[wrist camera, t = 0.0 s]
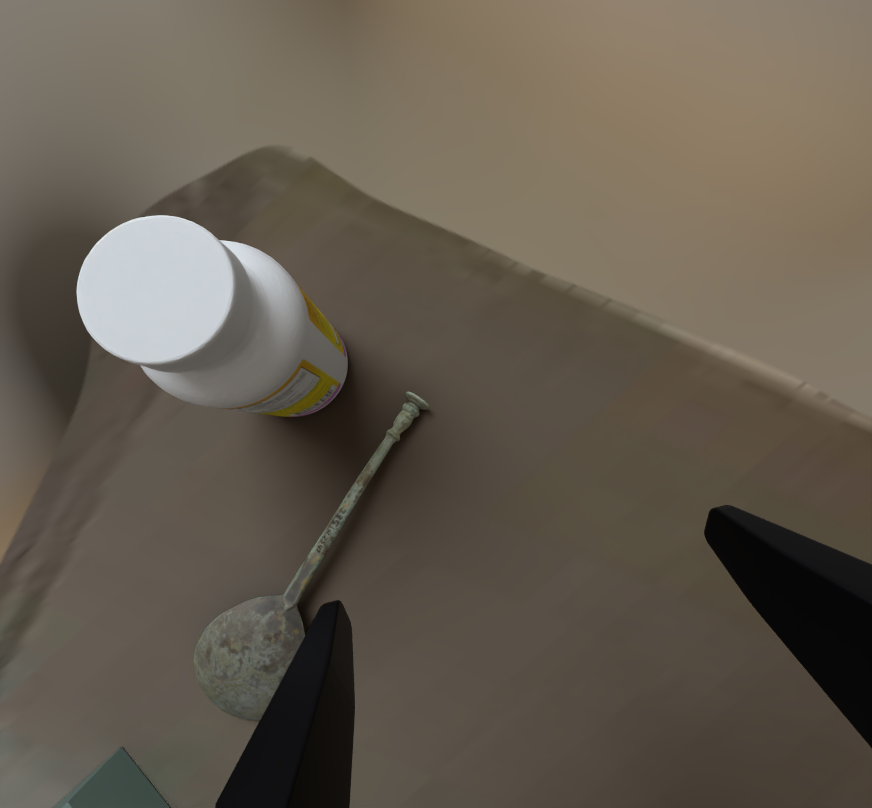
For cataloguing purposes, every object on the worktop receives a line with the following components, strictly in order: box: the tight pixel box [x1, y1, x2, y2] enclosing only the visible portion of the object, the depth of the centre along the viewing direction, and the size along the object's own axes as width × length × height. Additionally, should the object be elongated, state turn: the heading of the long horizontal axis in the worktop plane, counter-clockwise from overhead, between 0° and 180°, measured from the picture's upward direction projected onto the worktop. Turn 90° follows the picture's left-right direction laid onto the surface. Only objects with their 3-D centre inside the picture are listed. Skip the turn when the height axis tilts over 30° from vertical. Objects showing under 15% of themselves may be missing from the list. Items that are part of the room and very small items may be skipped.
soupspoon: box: [194, 392, 430, 720], centre depth 22 cm, size 22×3×7 cm
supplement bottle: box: [77, 215, 348, 417], centre depth 18 cm, size 7×7×13 cm
